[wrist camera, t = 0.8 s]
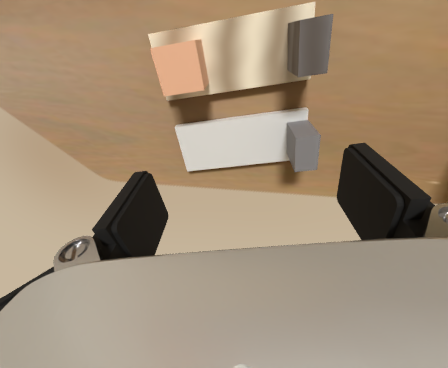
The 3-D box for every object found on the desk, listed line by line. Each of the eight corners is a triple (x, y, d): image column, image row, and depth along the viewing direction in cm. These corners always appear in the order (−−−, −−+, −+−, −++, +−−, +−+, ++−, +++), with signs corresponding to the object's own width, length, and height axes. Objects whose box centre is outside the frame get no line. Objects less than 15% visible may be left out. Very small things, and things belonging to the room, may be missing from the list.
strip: (306, 107, 32) (321, 123, 26) (303, 155, 36) (316, 178, 30) (176, 124, 34) (163, 143, 28) (188, 167, 39) (179, 191, 33)
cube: (201, 39, 27) (194, 39, 23) (208, 82, 30) (204, 90, 25) (163, 46, 27) (150, 48, 23) (174, 88, 30) (164, 96, 26)
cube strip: (312, 3, 25) (335, -8, 19) (307, 77, 30) (325, 88, 24) (151, 34, 28) (127, 33, 22) (169, 98, 32) (153, 113, 26)
